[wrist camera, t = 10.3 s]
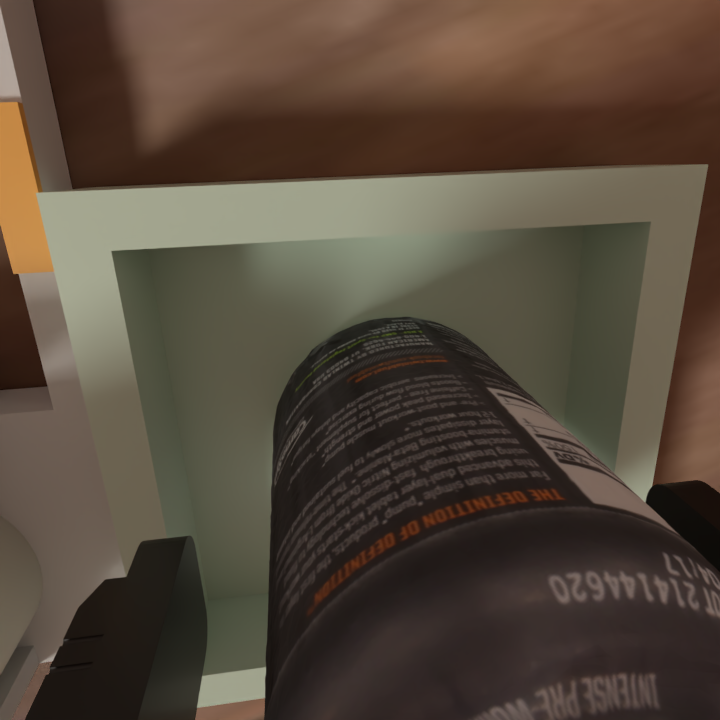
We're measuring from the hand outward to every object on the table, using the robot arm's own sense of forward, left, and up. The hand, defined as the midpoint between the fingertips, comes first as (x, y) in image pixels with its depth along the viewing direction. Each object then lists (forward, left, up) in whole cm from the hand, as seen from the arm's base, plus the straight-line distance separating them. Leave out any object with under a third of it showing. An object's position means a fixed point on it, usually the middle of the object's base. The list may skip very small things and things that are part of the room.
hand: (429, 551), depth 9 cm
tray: (0, 0, -6) cm, 6 cm away
